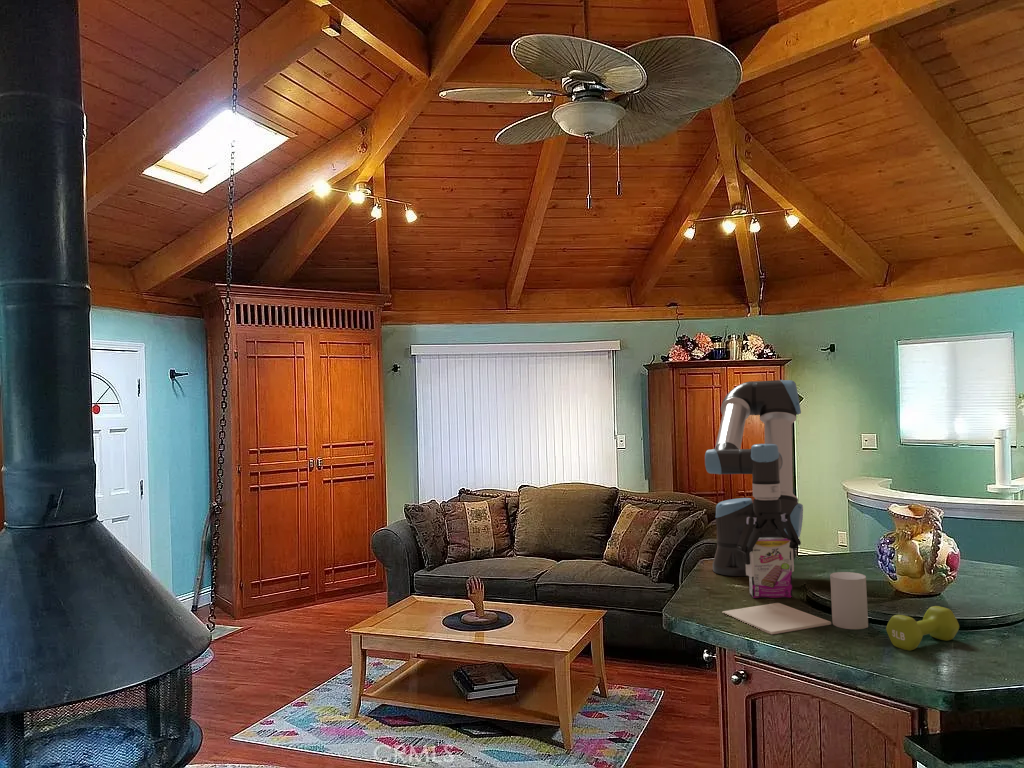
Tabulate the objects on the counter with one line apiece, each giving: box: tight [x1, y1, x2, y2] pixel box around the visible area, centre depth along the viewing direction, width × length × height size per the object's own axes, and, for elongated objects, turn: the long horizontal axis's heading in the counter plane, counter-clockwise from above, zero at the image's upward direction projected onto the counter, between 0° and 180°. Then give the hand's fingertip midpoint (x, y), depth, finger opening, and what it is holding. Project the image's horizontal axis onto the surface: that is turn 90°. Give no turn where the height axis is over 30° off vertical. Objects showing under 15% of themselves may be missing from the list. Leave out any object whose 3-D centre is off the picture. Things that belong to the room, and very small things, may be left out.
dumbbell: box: [885, 605, 960, 652], centre depth 175 cm, size 16×8×7 cm, turn 115°
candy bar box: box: [748, 537, 793, 599], centre depth 219 cm, size 11×5×16 cm, turn 84°
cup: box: [829, 571, 869, 630], centre depth 191 cm, size 8×8×12 cm
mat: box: [721, 602, 832, 635], centre depth 198 cm, size 18×20×1 cm
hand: (770, 573), depth 219 cm, fingers open, 13 cm apart
